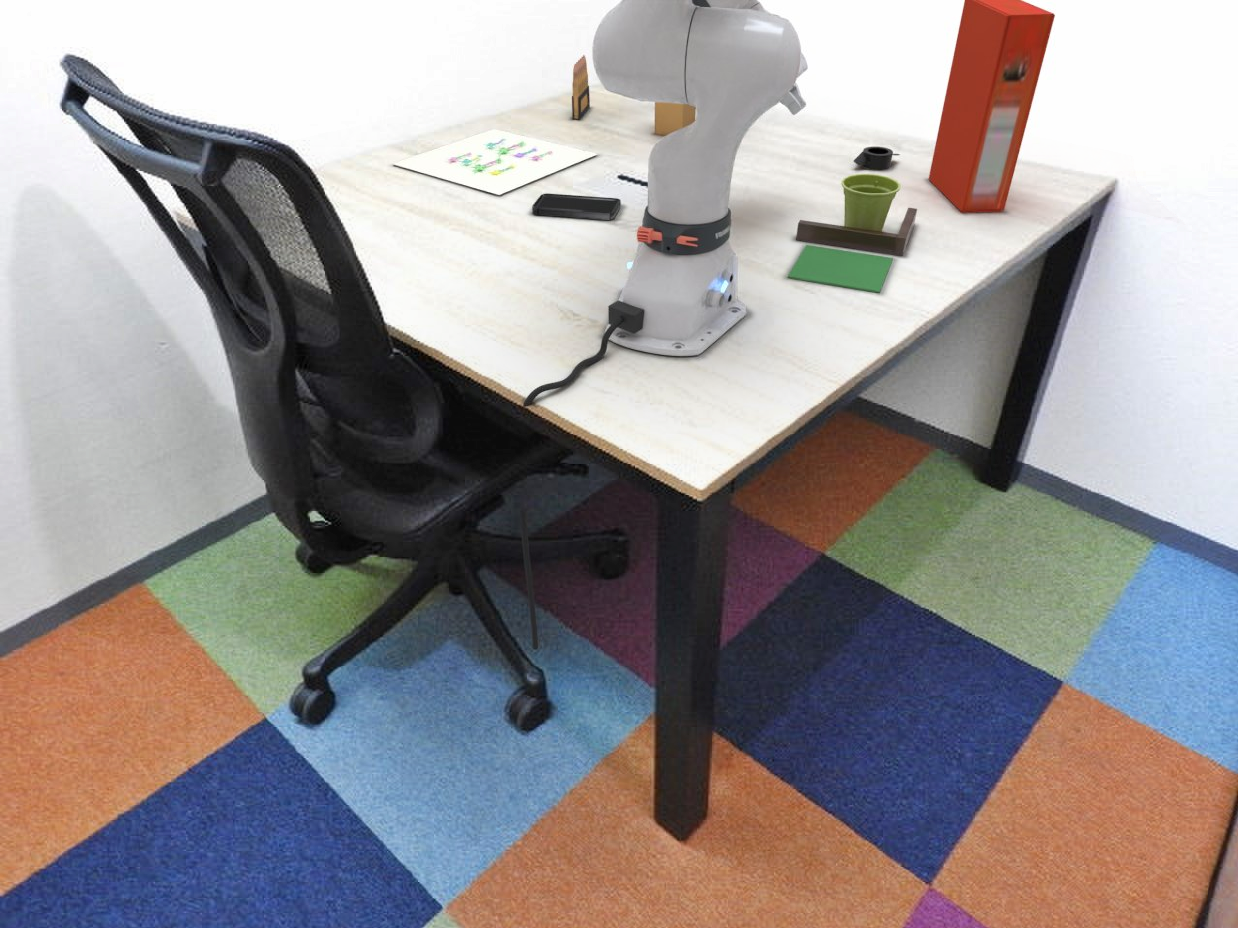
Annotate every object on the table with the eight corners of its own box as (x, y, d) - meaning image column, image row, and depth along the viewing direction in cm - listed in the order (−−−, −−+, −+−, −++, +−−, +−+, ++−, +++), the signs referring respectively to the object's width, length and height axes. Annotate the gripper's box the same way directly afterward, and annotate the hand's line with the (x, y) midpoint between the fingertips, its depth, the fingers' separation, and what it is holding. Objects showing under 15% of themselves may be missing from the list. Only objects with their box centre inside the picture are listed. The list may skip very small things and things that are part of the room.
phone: (542, 193, 160) (621, 198, 158) (542, 199, 161) (621, 204, 158) (530, 208, 154) (612, 214, 152) (530, 214, 155) (612, 220, 152)
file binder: (959, 213, 155) (1007, 14, 136) (926, 180, 169) (965, -5, 150) (1003, 212, 155) (1057, 14, 136) (967, 179, 169) (1011, -5, 150)
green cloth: (879, 293, 130) (879, 291, 129) (787, 278, 134) (787, 276, 134) (892, 259, 139) (892, 258, 139) (806, 246, 143) (806, 244, 143)
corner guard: (902, 256, 140) (906, 238, 138) (795, 240, 146) (798, 223, 144) (913, 225, 151) (917, 208, 149) (813, 211, 156) (816, 195, 154)
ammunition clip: (580, 120, 202) (578, 65, 195) (572, 119, 202) (570, 64, 195) (589, 107, 210) (588, 54, 203) (582, 107, 211) (580, 54, 203)
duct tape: (848, 158, 179) (850, 144, 177) (897, 160, 178) (900, 145, 177) (852, 171, 173) (855, 156, 171) (904, 172, 172) (906, 157, 171)
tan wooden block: (602, 138, 191) (599, -85, 166) (659, 114, 206) (663, -94, 181) (692, 156, 180) (703, -79, 155) (744, 129, 195) (762, -89, 170)
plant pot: (891, 247, 143) (902, 195, 138) (833, 242, 145) (841, 191, 140) (889, 225, 151) (899, 175, 145) (834, 221, 152) (841, 172, 147)
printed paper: (499, 196, 162) (498, 189, 161) (391, 165, 177) (390, 158, 176) (598, 155, 181) (598, 148, 180) (494, 130, 196) (493, 123, 195)
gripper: (740, 36, 129) (795, 113, 131) (784, 14, 144) (833, 84, 146) (710, 65, 134) (764, 139, 136) (756, 41, 148) (804, 108, 150)
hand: (800, 110), depth 141 cm, fingers closed
